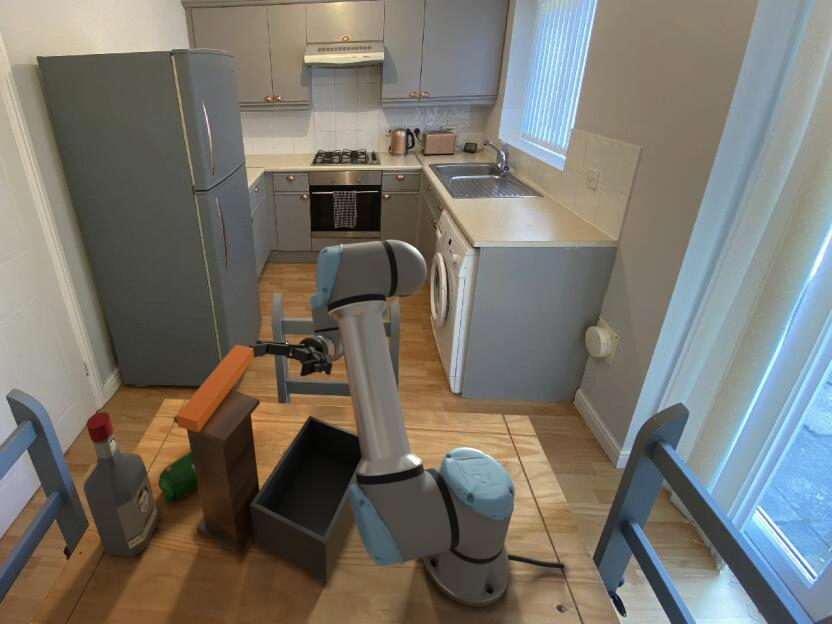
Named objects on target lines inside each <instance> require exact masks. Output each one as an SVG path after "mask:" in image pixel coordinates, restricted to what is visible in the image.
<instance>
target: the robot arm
mask: <svg viewBox="0 0 832 624" xmlns="http://www.w3.org/2000/svg"><path fill="white" fill-rule="evenodd" d="M315 271H316V272H315V288H316V291H315V293H313V294H312V295H311V296H310V298H309V299H310V300H309V301H310V312H311V320H312V326H313V333H314V334H313V336H308V337H305V338H303V339H302V340H301V341H300V342H298V343H289V341H287V340H281V341H280V340H264V339H257V340H256V342H255V344H250V345H248V347H250V348H253V353H254V358H259V357H260V358H262V357H263V356H266V355H272V356H280V357H281V356H282V357H285V358H286V359H290V360H295V361H298V362H299V363H300V364H301V370H300V374H299V375H300V377H303V378H304V377H306V376H310V375H312V374H316V373H319V374H322V373H323V372H324V374H325V375H327V376H331V374H332V369H333V364H334V363H333V362H337V361H339V360H340V359H342V358H343V361H344V366H345V371H346V376H347V382H348V388H349V393H350V399H351V405H352V411H353V416H354V422H355V428H356V433H357V434H358V439H359V445H360V451H361V456H362V459H361V462H360V464H359V465H358V467H357V469H356V470H355V473H356V479H357V484H356V483H354V484H353V485H352V486H350V488H349V495H350V502H351V507H352V511H353V515H354V521H355V524H356V526H357V530H358V533H359V537H360V539H361V542H362V544H363V547H364V549H365V551H366V553H367V555H368V557H369V558H370V560H371V561H372V562H373V563H374V564H376V565H378V566H381V567H385V566H390V565H396V564H400V565H403V564H405V563H406V562H408V561H414V560H417V559H421V558H422V562H423V564H424V568H425V570H426V573H427V574H428V576H429V577H430V579H431V581H432V582H433V583H434V585H435V586H436V587H437V588H438V589H439V590H440V591H441V592H442V593H443V594H444V595H445V596H446V597H448V598H449V599H451V600H453V601H455V602H457V603H459V604H460V605H464V606H468V607H473V608H482V607H483V608H484V607H487V606H491V605H492V604H494V603H496V602H497V601H498V600H500V599H501V598H502V596H503V595H504V593H505V592H506V589H507V586H508V582H509V579H510V571H511V569H510V561H513V562H515V561H516V562H519V563H524V564H529V565H533V566H537V567H543V568H551V569H565V563H564V562H555V561H545V560H538V559H533V558H530V557H525V556H520V555H515V554H511V553H508V552H507V549H506V545H505V542H506V538H507V534H508V530H509V527H510V523H511V519H512V515H513V512H514V510H515V503H514V502H515V496H516V495H515V492H516V491H515V486H514V483H513V481H512V478H511V476H510V474H509V472H508V471H507V470H506V468H505V467H504V466H503V465H502V464H501V463H500V462H499V461H498V460H496V459H495V457H493V456H491V455H489V454H486V453H484V452H483V451H482V450H480V449H476V448H473V447H469V446H468V447H467V446H459V447H454V448H452V449H451V450H449V451H448V452H447V453H446V454H445V456H444V457H443V458H442V460H441V463H440V465H439V466H434V467H430V468H426V469H425V467H424V463H423V460H422V459H421V458H420V457H419V456H418V455H416V454H415V453H414V452H413V450H411V445H410V441H409V437H408V436H409V435H408V432H407V427H406V421H405V418H404V412H403V409H402V408H403V407H402V403H401V399H400V394H399V389H398V385H397V381H396V376H395V371H394V366H393V362H392V358H391V353H390V348H389V345H388V339H387V335H386V329H385V325H384V320H383V318H385V317H387V316H388V312H389V307H390V306H391V305H392V304H394V303H395V302H396V301H398V300H399V299H400V298H407V297H410V296H413V294H415V293H416V292H418V291H419V290H420V289H421V288H422V287H423V286H424V283H426V280H427V274H428V268H427V263H426V260H425V258H424V256H423V255H422V254H421V252H420V251H419V250H418V249H417V248H416V247H415V246H413V245H411V244H410V243H407V242H405V241H402V240H397V239H383V240H377V241H376V240H375V241H367V242H365V241H364V242H355V243H345V244H343V243H340V244H338V245H333V246H332V245H331V246H326V247H323V248H322V249H321V250H320V252H319V253H318V256H317V260H316V270H315Z"/></svg>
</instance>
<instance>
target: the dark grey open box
mask: <svg viewBox="0 0 832 624" xmlns="http://www.w3.org/2000/svg"><path fill="white" fill-rule="evenodd" d="M361 459H362V456H361V451H360V445H359V439H358V434H357V432H355V431H352V430H349V429H347V428H343V427H341V426H339V425H335V424H333V423H330V422H328V421H325V420H323V419H320V418H318V417H315V416H312V415H309V416H308V417H307V419H306V421H305V422H304V424H303V425H302V427H301V428H300V429H299V431H298V433H297V434H296V435H295V436H294V438H293V440H292V441H291V443H290V444H289V446H288V447H287V449H286V450H285V452H284V453H283V455H282V456H281V458H279V461H278V462H277V464H276V465H275V467H274V469H273V470H272V471H271V473H270V474H269V475H268V477H267V479H266V481H265V482H264V483H263V485H262V486H261V488H259V492H258V494H257V495H256V497H255V498H254V500H253V501H252V503H251V504H250V509H251V517H252V525H253V533H254V538H253V540H254V544H256V545H258V546H259V547H261V548H263V549H265V550H267V551H268V552H270V553H272V554H274V555H275V556H277V557H279V558H281V559H283V560H285V561H287V562H288V563H290V564H292V565H293V566H295V567H297V568H299V569H301V570H303V571H304V572H306V573H307V574H309V575H311V576H313V577H315V578H316V579H319V580H320V581H322V582H324V583H328V581H329V579H330V577H331V575H332V573H333V569H334V567H335V565H336V563H337V560H338V558H339V555H340V553H341V551H342V549H343V546H344V545H345V541H346V539H347V536H348V535H349V532H350V529H351V527H352V525H353V523H354V521H355V518H354V515H353V511H352V507H351V502H350V495H349V488H350V486H352V485H353V484H354V483H356V484H357V479H356V473H355V470H356V469H357V467H358V465H359V464H360V462H361Z"/></svg>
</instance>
